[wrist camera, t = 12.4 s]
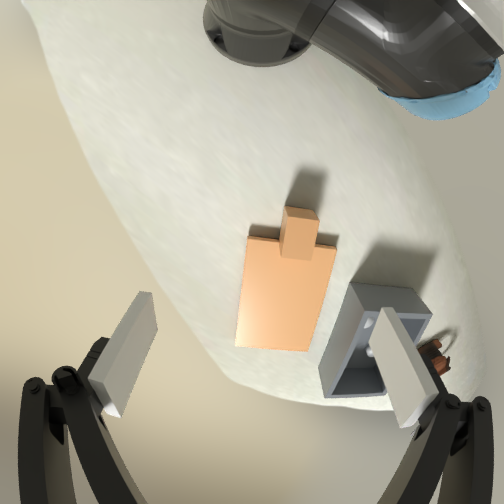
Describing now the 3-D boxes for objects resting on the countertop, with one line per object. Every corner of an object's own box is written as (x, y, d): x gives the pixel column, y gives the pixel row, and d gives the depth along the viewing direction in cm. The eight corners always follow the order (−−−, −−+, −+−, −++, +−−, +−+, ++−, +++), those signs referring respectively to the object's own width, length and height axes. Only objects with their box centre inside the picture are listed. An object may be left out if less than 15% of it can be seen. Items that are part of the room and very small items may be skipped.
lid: (251, 200, 39) (250, 211, 34) (340, 212, 39) (353, 225, 34) (235, 338, 49) (233, 361, 44) (306, 344, 49) (310, 366, 44)
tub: (349, 282, 43) (364, 310, 36) (412, 288, 44) (432, 314, 37) (318, 367, 52) (324, 398, 44) (374, 367, 52) (385, 395, 45)
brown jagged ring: (447, 332, 49) (461, 362, 44) (425, 348, 57) (437, 376, 52) (412, 349, 47) (426, 384, 42) (390, 364, 54) (402, 396, 49)
